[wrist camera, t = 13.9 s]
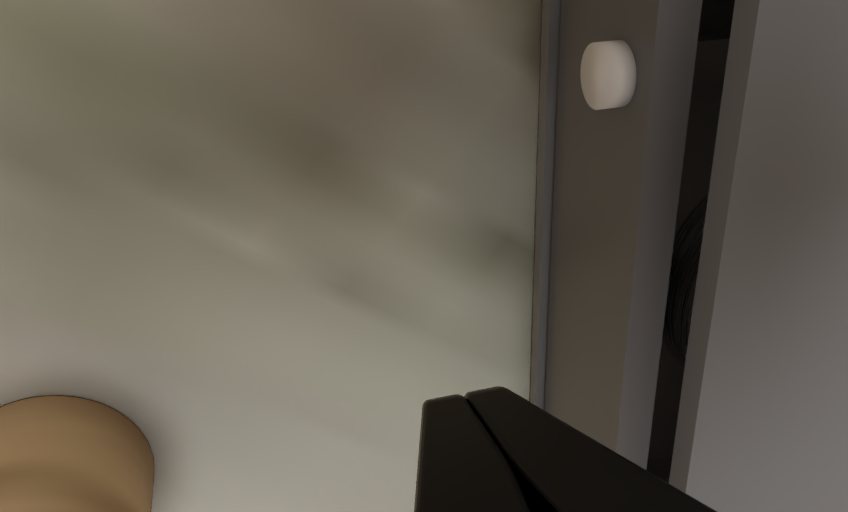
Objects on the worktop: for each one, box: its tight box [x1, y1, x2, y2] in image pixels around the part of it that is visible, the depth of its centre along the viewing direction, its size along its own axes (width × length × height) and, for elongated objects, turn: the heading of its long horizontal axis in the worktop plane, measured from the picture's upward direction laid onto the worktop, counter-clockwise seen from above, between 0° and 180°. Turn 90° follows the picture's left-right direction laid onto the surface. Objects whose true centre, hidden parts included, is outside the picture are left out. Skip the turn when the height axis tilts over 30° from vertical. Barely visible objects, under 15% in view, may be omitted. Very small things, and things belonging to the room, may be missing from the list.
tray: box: [544, 0, 735, 483], centre depth 19 cm, size 18×13×4 cm
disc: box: [662, 192, 709, 369], centre depth 19 cm, size 7×7×2 cm
